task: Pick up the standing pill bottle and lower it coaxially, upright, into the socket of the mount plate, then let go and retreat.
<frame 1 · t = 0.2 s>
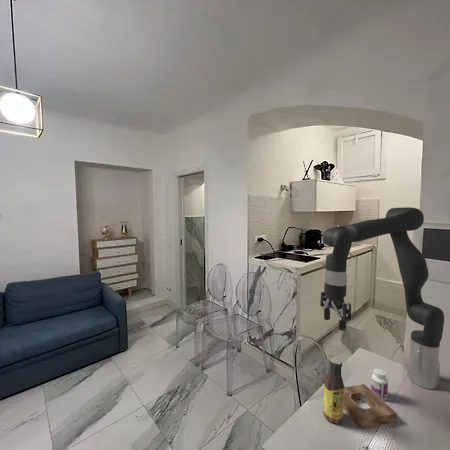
hand: (334, 324, 89), 28 cm above the table, fingers open, 8 cm apart
mount: (362, 408, 86), on the table
sauce bottle: (332, 417, 82), on the table
pill bottle: (378, 396, 92), on the table
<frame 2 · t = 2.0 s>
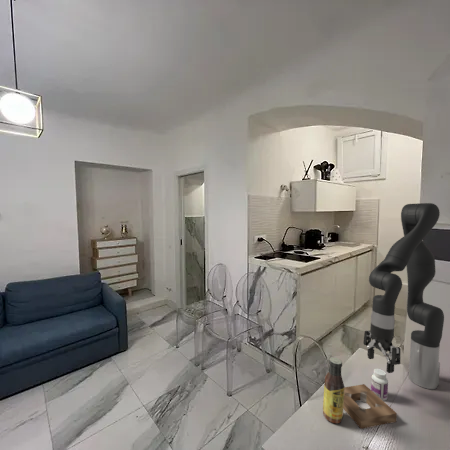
hand: (379, 365, 91), 12 cm above the table, fingers open, 8 cm apart
nothing on the table moved.
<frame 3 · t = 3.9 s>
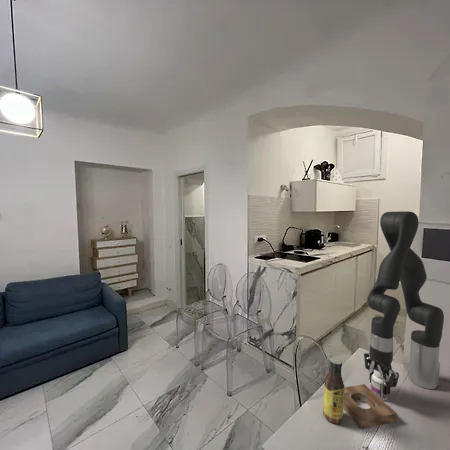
hand: (379, 388, 92), 3 cm above the table, fingers closed on pill bottle, 5 cm apart
pill bottle: (378, 396, 92), on the table, touching gripper
everything else where it was.
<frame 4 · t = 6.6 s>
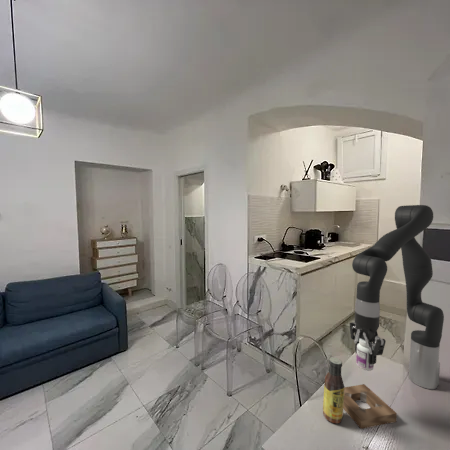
hand: (365, 358, 85), 19 cm above the table, fingers closed on pill bottle, 5 cm apart
pill bottle: (364, 366, 85), point 15 cm above the table, touching gripper
everything else where it was.
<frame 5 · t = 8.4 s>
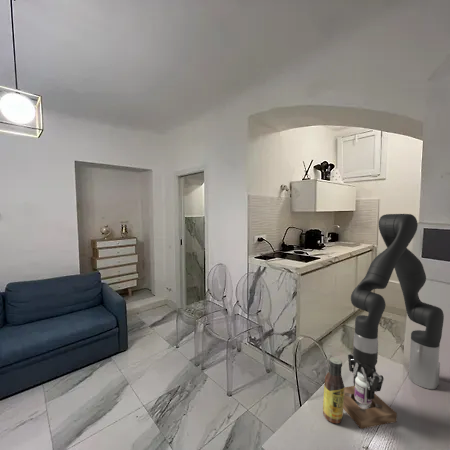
hand: (363, 392, 85), 6 cm above the table, fingers closed on pill bottle, 5 cm apart
pill bottle: (362, 400, 85), point 3 cm above the table, touching gripper
everything else where it was.
when the fingers open (5 cm above the table, at t = 9.5 s): pill bottle drops 2 cm, resting in mount.
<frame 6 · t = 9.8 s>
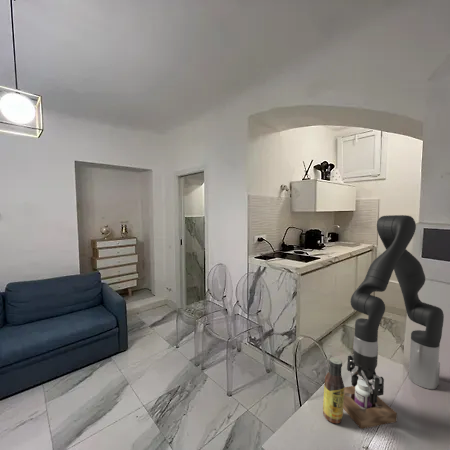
hand: (363, 393, 85), 5 cm above the table, fingers open, 8 cm apart
pill bottle: (362, 408, 86), resting in mount
everything else where it was.
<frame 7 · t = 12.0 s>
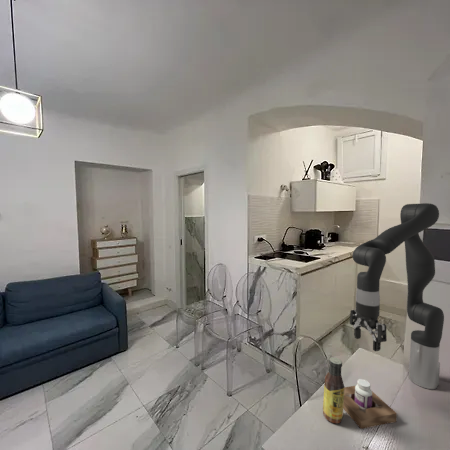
hand: (366, 344, 88), 22 cm above the table, fingers open, 8 cm apart
nothing on the table moved.
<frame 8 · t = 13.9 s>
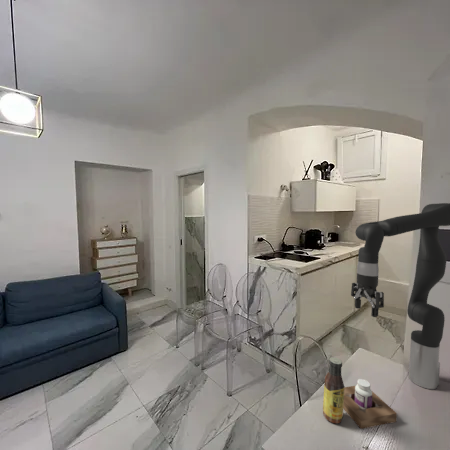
hand: (365, 312, 97), 30 cm above the table, fingers open, 8 cm apart
nothing on the table moved.
at the end: pill bottle 0.1 cm off-centre on the mount, point 0.0 cm above the mount's base; pill bottle tilted 0°; the gripper is holding nothing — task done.
